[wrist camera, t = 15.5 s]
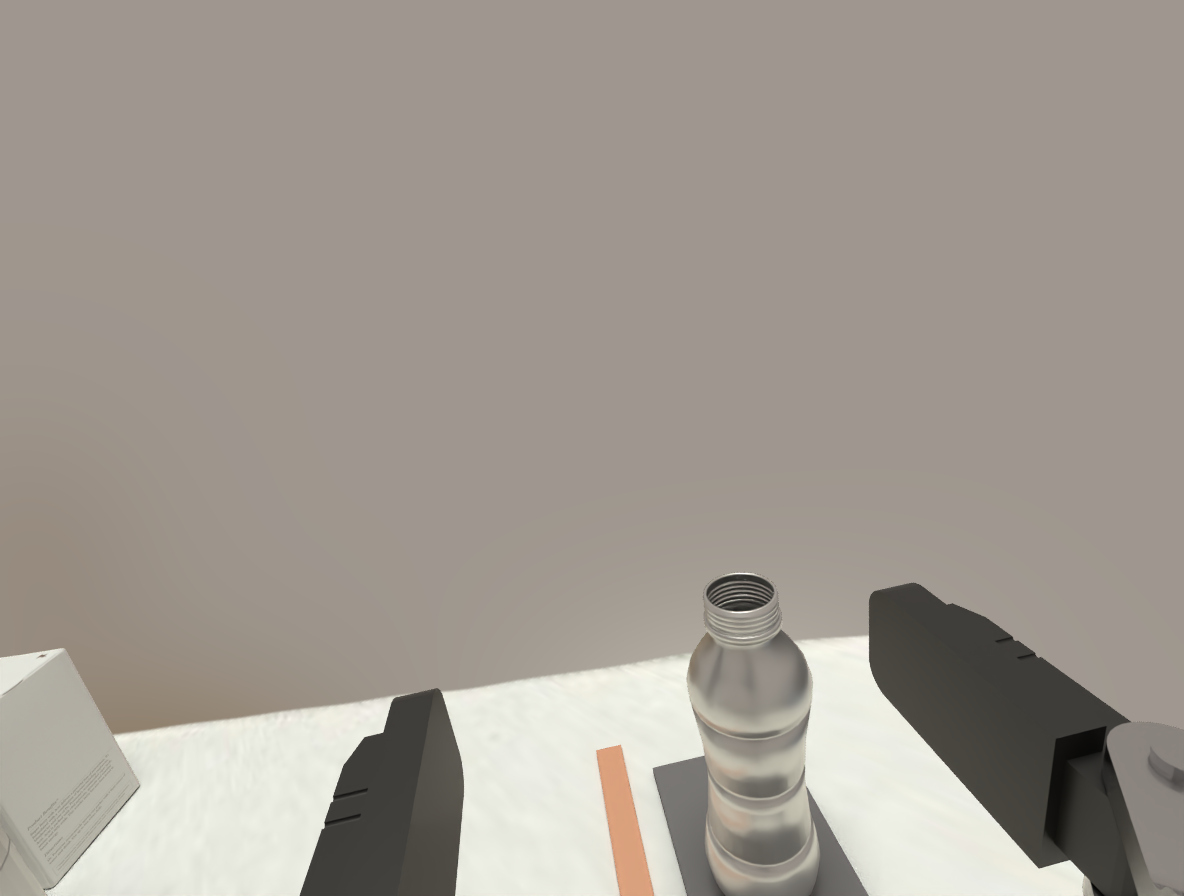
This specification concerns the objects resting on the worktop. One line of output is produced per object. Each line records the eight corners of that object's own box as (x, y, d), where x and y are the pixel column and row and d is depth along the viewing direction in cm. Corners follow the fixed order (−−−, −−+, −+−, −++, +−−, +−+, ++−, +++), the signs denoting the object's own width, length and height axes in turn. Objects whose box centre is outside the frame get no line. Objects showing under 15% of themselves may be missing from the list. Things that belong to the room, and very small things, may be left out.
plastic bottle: (686, 872, 35) (646, 597, 29) (756, 804, 39) (733, 545, 33) (773, 965, 30) (747, 654, 24) (844, 876, 34) (838, 585, 27)
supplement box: (48, 797, 50) (-36, 659, 46) (144, 784, 50) (69, 643, 46) (-63, 907, 42) (-180, 750, 37) (51, 892, 41) (-51, 732, 37)
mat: (744, 1101, 26) (743, 1095, 26) (653, 773, 43) (652, 767, 43) (948, 1043, 27) (948, 1037, 26) (779, 743, 44) (779, 738, 43)
